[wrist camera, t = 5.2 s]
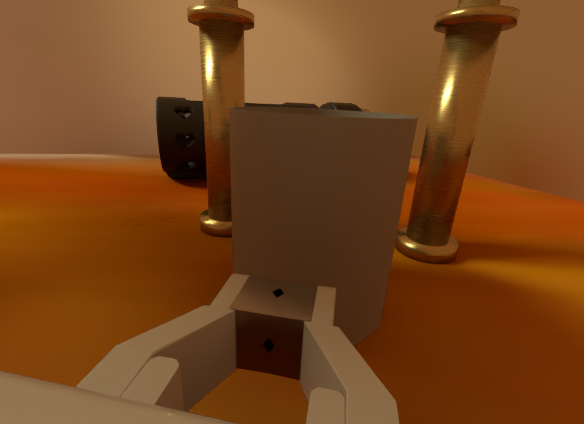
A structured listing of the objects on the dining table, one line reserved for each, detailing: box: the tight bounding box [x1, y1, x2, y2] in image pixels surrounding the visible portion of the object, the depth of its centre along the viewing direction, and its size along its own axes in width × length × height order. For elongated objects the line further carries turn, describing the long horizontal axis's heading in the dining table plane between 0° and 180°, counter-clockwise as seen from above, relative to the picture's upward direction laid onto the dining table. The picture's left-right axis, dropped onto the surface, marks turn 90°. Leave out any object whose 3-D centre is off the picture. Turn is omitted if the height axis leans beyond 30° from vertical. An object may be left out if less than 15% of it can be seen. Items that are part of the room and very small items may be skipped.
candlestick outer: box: [395, 0, 520, 264], centre depth 20 cm, size 4×4×22 cm
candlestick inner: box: [187, 0, 254, 237], centre depth 22 cm, size 4×4×22 cm
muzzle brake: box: [156, 97, 369, 178], centre depth 42 cm, size 10×28×10 cm, turn 108°
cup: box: [229, 107, 418, 345], centre depth 16 cm, size 8×8×10 cm
